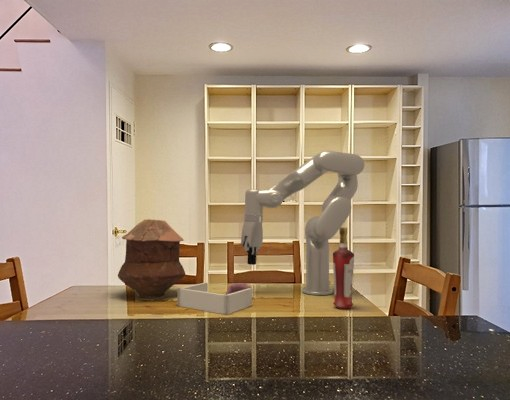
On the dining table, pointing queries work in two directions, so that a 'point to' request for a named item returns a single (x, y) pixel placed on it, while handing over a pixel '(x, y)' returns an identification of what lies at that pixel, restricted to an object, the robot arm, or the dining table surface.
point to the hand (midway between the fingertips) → (251, 264)
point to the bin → (213, 299)
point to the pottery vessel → (151, 258)
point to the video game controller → (237, 288)
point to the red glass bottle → (343, 273)
